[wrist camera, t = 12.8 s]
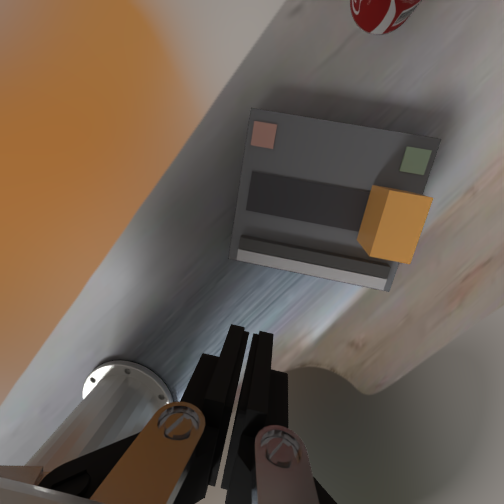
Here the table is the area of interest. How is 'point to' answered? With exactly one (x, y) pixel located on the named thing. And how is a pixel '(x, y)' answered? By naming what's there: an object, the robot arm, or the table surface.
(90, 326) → the table surface
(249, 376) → the robot arm
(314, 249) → the panel
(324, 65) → the table surface
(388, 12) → the soda can
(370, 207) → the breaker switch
